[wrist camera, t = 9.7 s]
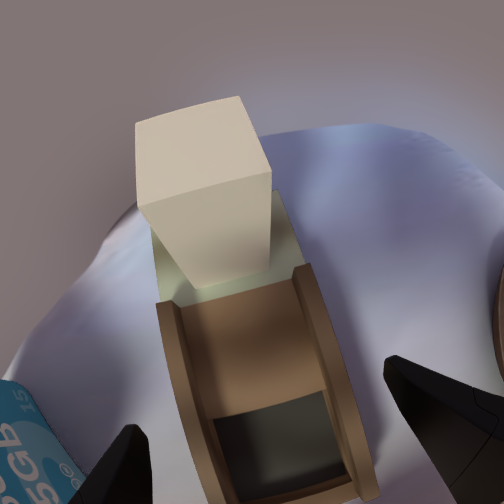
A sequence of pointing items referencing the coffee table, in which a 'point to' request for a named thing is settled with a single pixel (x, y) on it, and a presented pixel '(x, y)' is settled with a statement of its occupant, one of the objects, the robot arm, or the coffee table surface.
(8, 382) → the data package
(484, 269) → the coffee table surface
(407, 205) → the coffee table surface
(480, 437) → the robot arm
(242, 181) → the cream block
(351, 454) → the walnut channel
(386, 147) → the coffee table surface
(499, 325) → the plant saucer
